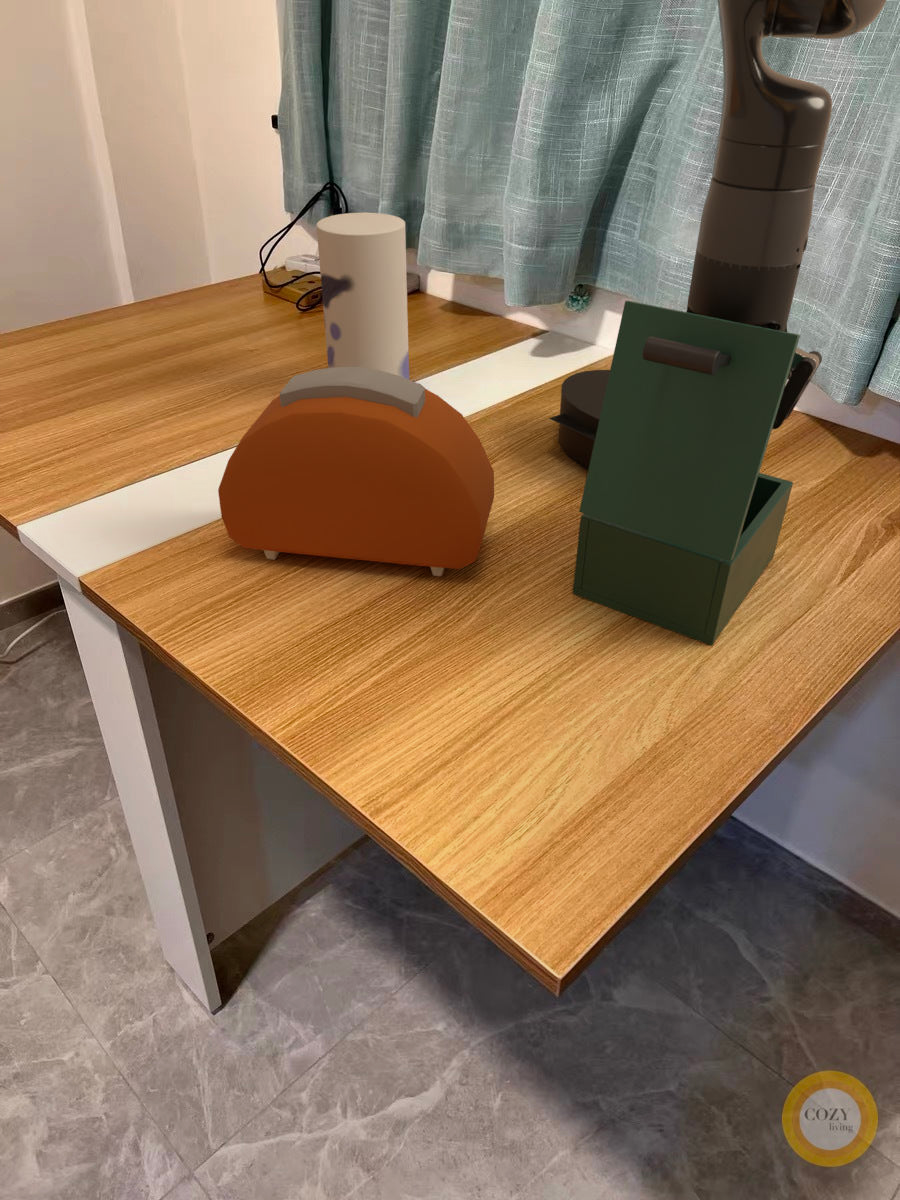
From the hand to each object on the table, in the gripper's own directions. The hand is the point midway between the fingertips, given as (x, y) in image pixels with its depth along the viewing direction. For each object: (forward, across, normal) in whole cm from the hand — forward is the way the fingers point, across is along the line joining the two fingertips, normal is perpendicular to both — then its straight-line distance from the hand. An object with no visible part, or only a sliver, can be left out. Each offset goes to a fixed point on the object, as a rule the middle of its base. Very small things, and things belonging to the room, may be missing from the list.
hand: (708, 456), depth 75 cm
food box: (+10, 0, -3) cm, 11 cm away
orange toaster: (+11, -26, -15) cm, 32 cm away
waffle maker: (+11, -14, +16) cm, 24 cm away
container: (+11, -48, +14) cm, 51 cm away
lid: (-6, 0, -8) cm, 10 cm away
